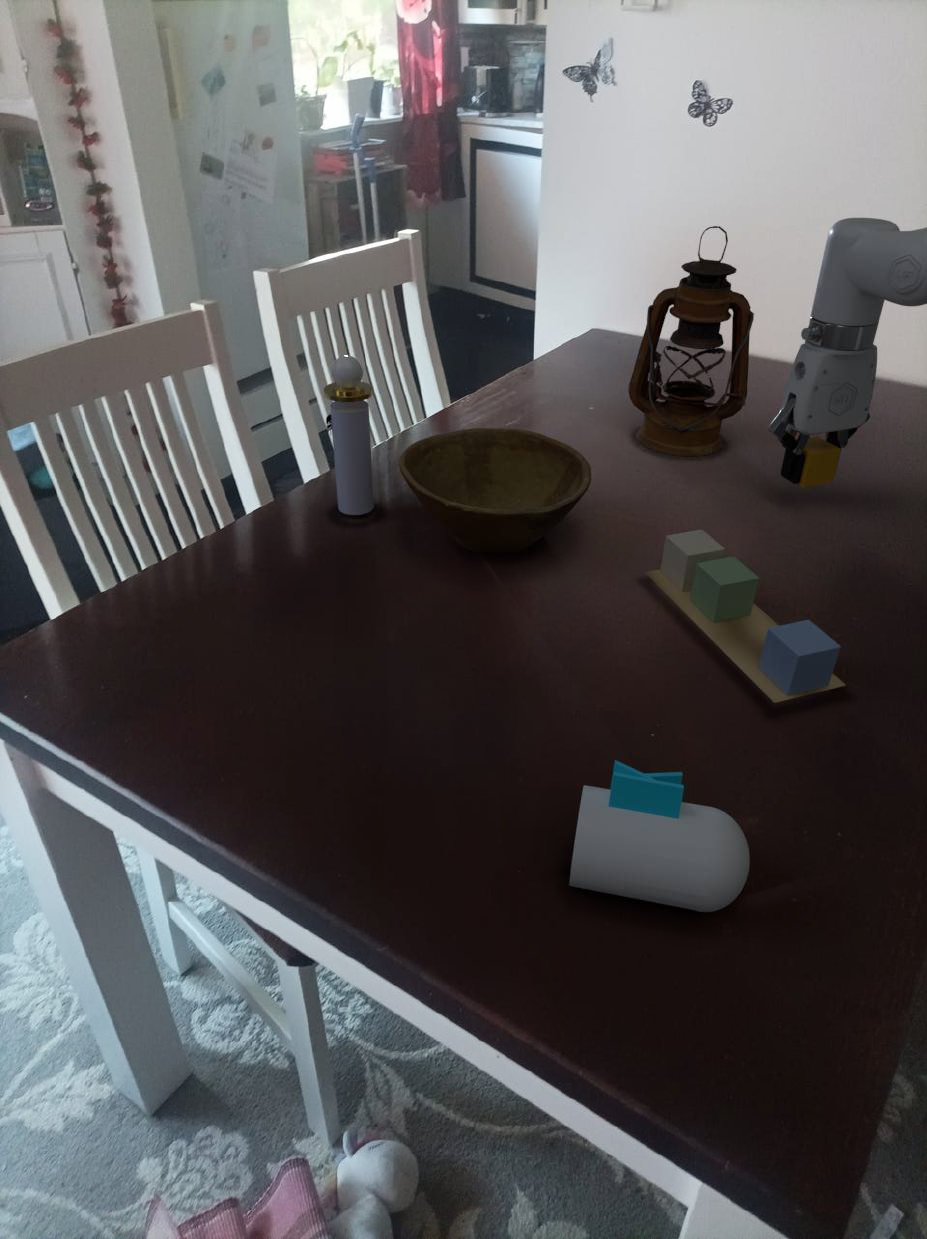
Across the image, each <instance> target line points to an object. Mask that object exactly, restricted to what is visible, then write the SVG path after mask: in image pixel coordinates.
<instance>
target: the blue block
mask: <svg viewBox="0 0 927 1239" xmlns="http://www.w3.org/2000/svg"><path fill="white" fill-rule="evenodd" d="M841 648H842V646H841V645H840V644H839V643H837V642H836V641H835V640H834V639H833V638H831V636H829V635H828V634H827V633H825V632H824V631H823V630H822V629H821V628H820V627H818V626H817V625H816V624H815V623H813V621H811V620H810V619H805V620H800V621H795V622H791V623H786V624H782V625H779V626H777V627H772V628H768V631H767V635H766V639H765V643H764V646H763V650H762V654H761V658H760V662H759V666H758V667H759V668H760V669H761V670H762V671H763V672H764V673H765V674H766V675H767V676H768V677H769V678H770V679H771V680H772V681H773V682H774V683H775V684H776V685H777V686H778V687H779V688H780V689H781V690H782V691H783V692H784V693H785V694H786V695H787V696H789V695H793V694H797V693H801V692H805V691H809V690H813V689H818V688H822V687H826V686H828V685H829V682H830V679H831V676H832V673H833V674H834V670H835V666H836V664H837V661H838V658H839V654H840V651H841Z"/></svg>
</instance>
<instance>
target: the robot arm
mask: <svg viewBox="0 0 927 1239" xmlns="http://www.w3.org/2000/svg"><path fill="white" fill-rule="evenodd" d="M821 261H822V262H821V265H820V270H819V273H818V279H817V284H816V289H815V293H814V299H813V302H812V307H811V312H810V317H809V321H808V325H807V327H804V328H803V329H802V330H801V333H800V336H801V338H802V340H803V341H804V343H802V344H800V347H799V349H798V351H797V353H796V355H795V359H794V361H793V364H792V367H791V370H790V373H789V376H788V379H787V382H786V385H785V388H784V393H783V397H782V400H781V401H782V402H781V406H780V411H779V413H778V414H777V415H776V416H775V418H774V419H773V420H772V421H771V423H770V424H769V426H768V427H767V431H768V432H770V433H771V434H772V435H773V436H774V437H775V438H777V440H778V441H779V442H780V443H781V446H782V447H783V448H784V449H785V450H784V455H783V459H782V464H781V469H780V476H781V477H782V478H784V479H785V480H787V481H789V482H790V483H791V484H792V485H793V484H794V485H798V483H799V482H800V479H801V474H802V470H803V466H804V461H805V456H806V455H805V454H803V453H802V452H803V450H804V448H805V446H806V444H807V441H808V439H809V437H811V435H813V436H814V435H821V434H825V440H826V441H827V442H829V443H831V444H833V445H835V446H836V447H838V448H840V449H841V450H842V449H845V448H846V447H847V446H848V444H849V439H850V438H851V437H853V435H855V433H856V432H857V431H858V429H859V428H861V427H862V426H863V425H864V424H865V423H866V422H868V421H869V420H870V418H871V414H870V407H871V403H872V399H873V393H874V388H875V382H876V376H877V368H878V346H877V345H875V344H874V343H875V339H876V334H877V331H878V327H879V323H880V320H881V315H882V311H883V308H884V304H885V301H887V302H889V303H892V304H895V305H898V306H901V307H902V306H903V307H911V308H912V307H921V306H924V305H927V227H924V228H918V229H914V230H901V229H900V227H899V226H898V225H897V224H896V223H895V222H893V221H890V220H887V219H882V218H874V217H848V218H843V219H840V220H838V221H836V222H835V223H834V224H833V225H832V226H831V228H830V229H829V231H828V234H827V238H826V241H825V246H824V251H823V256H822V260H821ZM788 425H789V426H788ZM798 433H799V434H798ZM797 434H798V437H797ZM796 437H797V438H796ZM796 439H797V441H796ZM841 452H842V451H841ZM841 452H840V454H841ZM840 457H841V455H840V456H839V458H840ZM839 460H840V459H839ZM839 460H838V462H839ZM838 464H839V463H838ZM838 464H837V466H838ZM836 470H838V467H837V468H836ZM836 472H837V471H836ZM836 472H835V474H836Z"/></svg>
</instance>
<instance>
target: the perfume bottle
mask: <svg viewBox="0 0 927 1239" xmlns="http://www.w3.org/2000/svg"><path fill="white" fill-rule="evenodd" d="M331 377H332V379H333V381H334V382H331V383H329V384H327V385H325V386H324V387H323V396H324V397H325V399H327V400H329V401H332V402H331V403H330V404H329V408H330V410H329V411H330V414H328V415H327V416H326V418H325V423H326V424H325V425H326V433H327V434H326V436H328V433H329V432H330V435H331V436H332V447H333V449H332V450H333V461H334V473H335V475H334V476H335V486H336V487H335V488H336V499H337V509H338V511H339V512H340V513H342V514H344V515H349V516H361V515H365V514H367V513H370V512H371V511H373V509H374V508H375V500H374V481H373V461H372V460H373V459H372V444H371V440H372V439H371V424H370V421H371V420H370V405H369V403H368V401H366V400H368V399H370V398H371V397H373V395H374V387H373V386H372V384H370V383H368V382H366V381H362V380H363V377H364V368H363V366H362V364H361V362H360V361H359V360H358V359H357V358H356V357H354V356H352V355H341V356H339V357H337V359H335V361H334V362H333V363H332V366H331Z"/></svg>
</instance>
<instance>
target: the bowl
mask: <svg viewBox="0 0 927 1239" xmlns="http://www.w3.org/2000/svg"><path fill="white" fill-rule="evenodd" d="M398 467H399V471H400V473H401V475H402V477H403V478H404V481H405V482H406V484H407V485H408V487H409V489H411V491H412V493H413V494H414V496H415V497H416V498H417V500H418V501H419V503H420V504H421V505H422V507H423V508H424V509H425V510H426V511H427V513H428V514H429V515H430V516H431V517H432V518H433V520H434V521H435V522H436V524H438V525H439V526H440V527H441V528H442V529H443V530H444V531H446V532H447V533H448V534H449V535H450V536H451V537H452V539H454V540H455V542H457V543H458V544H459V545H460V546H461V547H462V548H464V549H465V550H467V551H470V552H473V553H476V554H481V555H483V553H484V552H485V553H493V554H515V553H520V552H522V551H525V550H526V549H528V548H529V547H531V546H533V545H534V544H536V543H537V542H538V541H539V540H540V539H541V538H543V537H544V536H545V535H547V534H548V533H549V532H551V531H552V530H554V528H556V527H557V525H558V524H559V523H560V522H561V521H563V519H565V517H566V516H568V514H569V513H571V511H572V510H573V509H574V508H575V506H576V505H577V504H578V503H579V502H580V501H581V499H582V498H583V497H584V495H585V494H586V493H587V491H588V490H589V488H590V485H591V482H592V467H591V465H590V463H589V462H588V461H587V459H586V458H585V456H584V455H583V454H582V453H581V452H580V451H578V450H577V449H575V448H574V447H573V446H571V445H569V444H567V443H565V442H562V441H560V440H557V439H554V438H552V437H549V436H546V435H544V434H542V433H539V432H535V431H532V430H524V429H518V428H488V427H485V428H484V427H483V428H482V427H481V428H480V427H478V428H475V427H474V428H467V429H460V430H454V431H452V432H451V431H450V432H445V433H444V432H443V433H438V434H435V435H431V436H428V437H426V438H422V439H419V440H417V441H416V442H414V443H411V444H410V445H409V446H408V447H407V448H406V449H404V451H403V452H402V453H401V455H400V456H399V459H398ZM482 552H483V553H482Z"/></svg>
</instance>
